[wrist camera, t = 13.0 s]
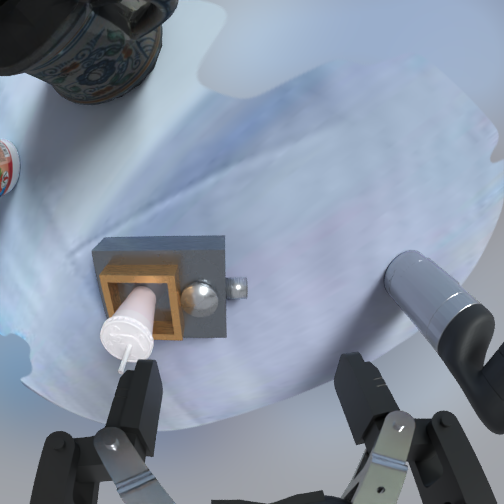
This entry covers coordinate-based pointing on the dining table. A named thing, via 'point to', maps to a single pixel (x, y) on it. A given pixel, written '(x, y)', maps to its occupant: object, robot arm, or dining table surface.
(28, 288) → the dining table surface
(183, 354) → the dining table surface
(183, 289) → the grey flat boxy piece
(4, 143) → the fruit juice
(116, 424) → the robot arm
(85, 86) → the beer stein
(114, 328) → the smoothie
